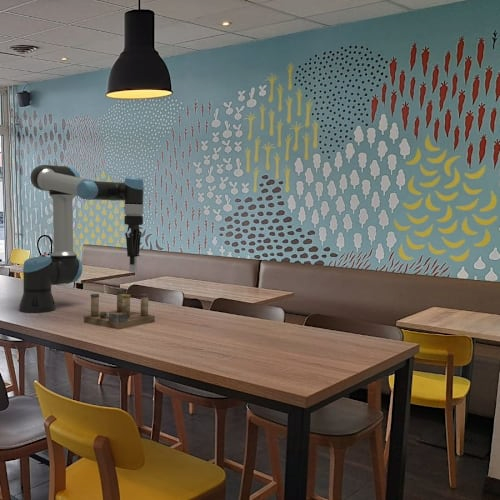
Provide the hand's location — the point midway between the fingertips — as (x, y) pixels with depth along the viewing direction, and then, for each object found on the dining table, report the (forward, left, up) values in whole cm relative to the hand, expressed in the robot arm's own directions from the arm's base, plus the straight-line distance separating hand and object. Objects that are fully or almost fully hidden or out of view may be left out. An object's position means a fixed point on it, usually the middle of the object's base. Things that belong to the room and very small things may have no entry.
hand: (133, 272), depth 240 cm
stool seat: (-1, -6, -20) cm, 21 cm away
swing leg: (0, -10, -17) cm, 20 cm away
